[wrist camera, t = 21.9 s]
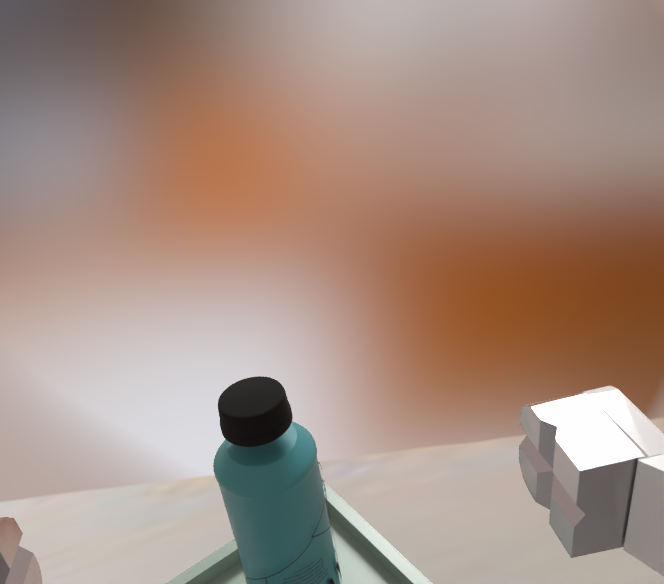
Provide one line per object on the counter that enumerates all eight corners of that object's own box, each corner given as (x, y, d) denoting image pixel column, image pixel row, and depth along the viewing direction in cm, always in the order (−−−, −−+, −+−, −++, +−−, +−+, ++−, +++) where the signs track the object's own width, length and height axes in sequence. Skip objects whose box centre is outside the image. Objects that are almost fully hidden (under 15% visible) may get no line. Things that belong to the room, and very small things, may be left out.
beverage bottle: (292, 684, 39) (230, 453, 29) (240, 613, 44) (172, 395, 34) (367, 618, 42) (332, 391, 33) (310, 559, 47) (267, 347, 38)
